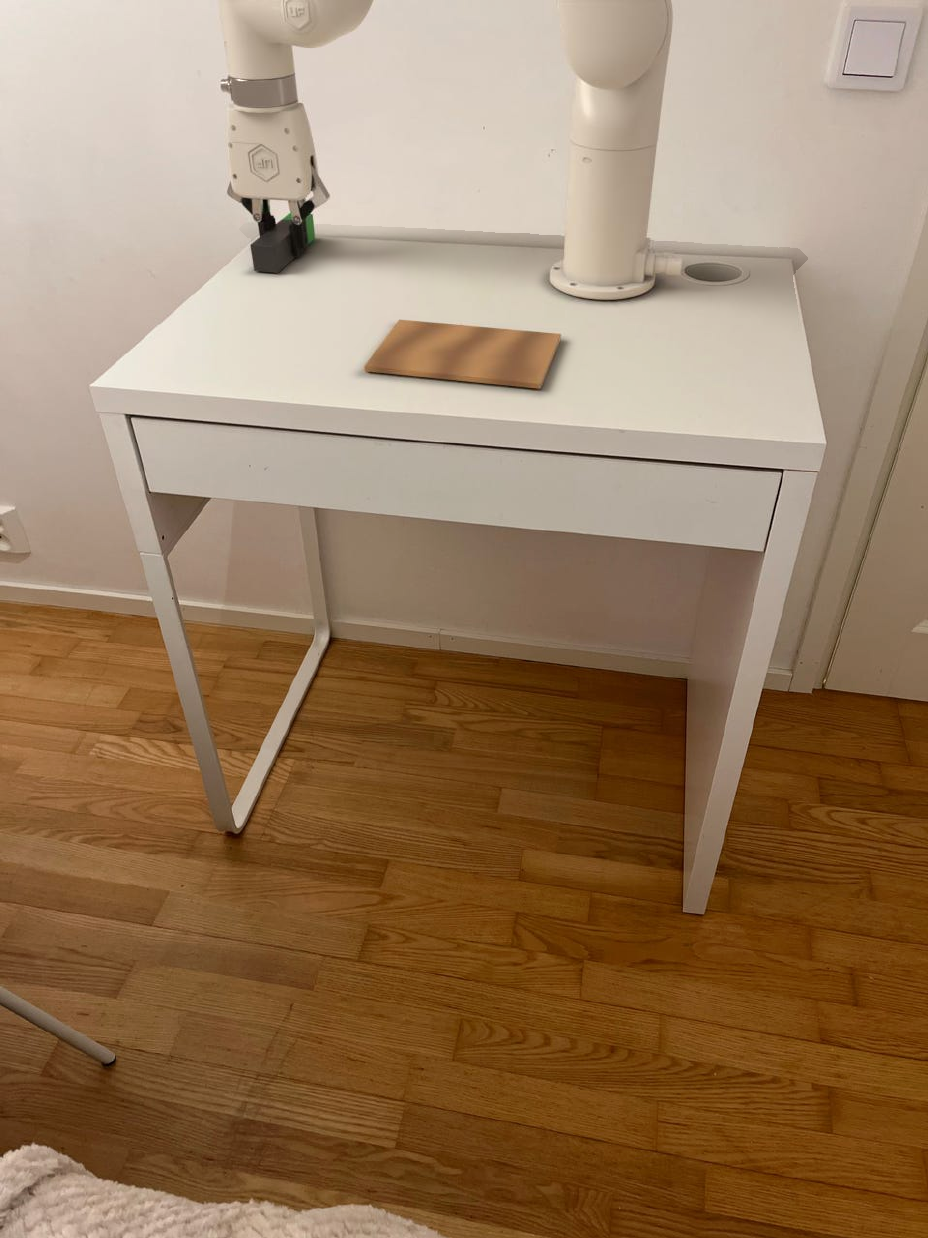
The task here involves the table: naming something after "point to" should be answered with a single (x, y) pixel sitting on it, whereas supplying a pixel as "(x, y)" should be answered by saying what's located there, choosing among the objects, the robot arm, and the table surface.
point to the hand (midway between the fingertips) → (285, 250)
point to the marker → (277, 246)
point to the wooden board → (466, 353)
